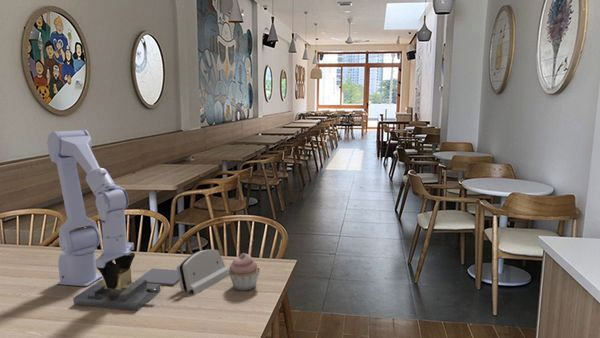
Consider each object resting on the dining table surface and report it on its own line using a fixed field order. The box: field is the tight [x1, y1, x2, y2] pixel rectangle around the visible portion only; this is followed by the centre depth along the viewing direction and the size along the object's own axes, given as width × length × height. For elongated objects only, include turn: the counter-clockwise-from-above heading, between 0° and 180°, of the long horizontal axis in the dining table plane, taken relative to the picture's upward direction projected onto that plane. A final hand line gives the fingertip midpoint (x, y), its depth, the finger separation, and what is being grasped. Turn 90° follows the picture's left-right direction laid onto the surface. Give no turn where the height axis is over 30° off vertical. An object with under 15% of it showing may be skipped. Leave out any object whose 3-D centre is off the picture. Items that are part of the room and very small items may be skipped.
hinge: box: [176, 249, 230, 295], centre depth 132 cm, size 17×5×10 cm, turn 152°
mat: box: [134, 268, 180, 287], centre depth 135 cm, size 12×10×1 cm
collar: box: [102, 267, 133, 290], centre depth 121 cm, size 5×5×4 cm
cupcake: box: [227, 252, 261, 291], centre depth 128 cm, size 9×9×10 cm
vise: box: [73, 273, 162, 312], centre depth 121 cm, size 20×12×6 cm, turn 80°
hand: (117, 284), depth 121 cm, fingers closed on collar, 5 cm apart
